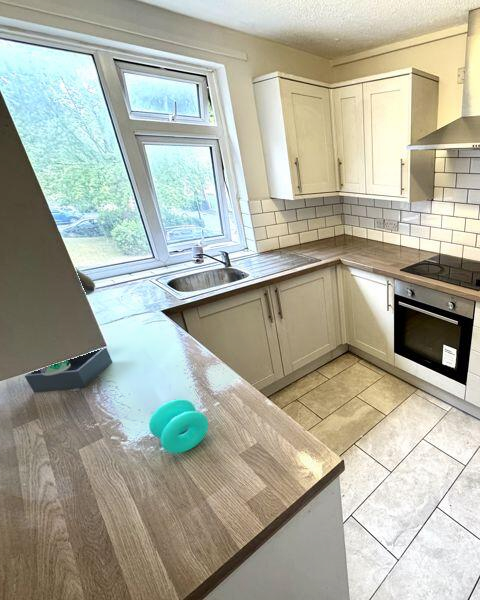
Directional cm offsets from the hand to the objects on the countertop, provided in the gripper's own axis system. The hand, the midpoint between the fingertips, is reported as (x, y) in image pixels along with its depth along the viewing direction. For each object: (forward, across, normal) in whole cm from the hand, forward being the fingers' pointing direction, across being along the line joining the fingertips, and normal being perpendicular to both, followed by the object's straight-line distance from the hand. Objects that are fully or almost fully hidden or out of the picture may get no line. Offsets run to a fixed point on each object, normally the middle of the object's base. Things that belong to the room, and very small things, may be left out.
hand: (32, 334), depth 79 cm
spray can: (-3, 0, +12) cm, 12 cm away
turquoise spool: (+25, +26, +26) cm, 44 cm away
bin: (-22, -5, +26) cm, 35 cm away
